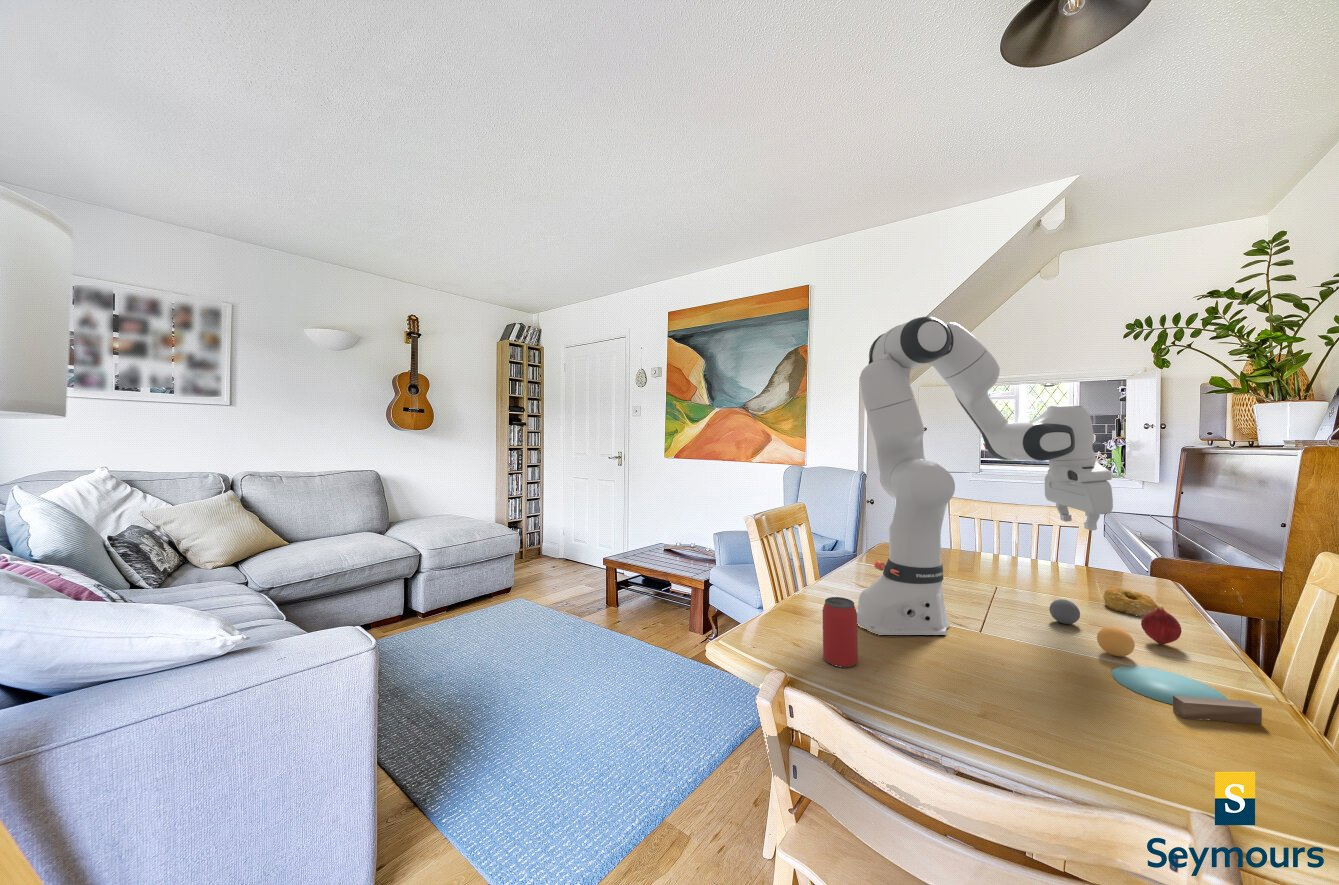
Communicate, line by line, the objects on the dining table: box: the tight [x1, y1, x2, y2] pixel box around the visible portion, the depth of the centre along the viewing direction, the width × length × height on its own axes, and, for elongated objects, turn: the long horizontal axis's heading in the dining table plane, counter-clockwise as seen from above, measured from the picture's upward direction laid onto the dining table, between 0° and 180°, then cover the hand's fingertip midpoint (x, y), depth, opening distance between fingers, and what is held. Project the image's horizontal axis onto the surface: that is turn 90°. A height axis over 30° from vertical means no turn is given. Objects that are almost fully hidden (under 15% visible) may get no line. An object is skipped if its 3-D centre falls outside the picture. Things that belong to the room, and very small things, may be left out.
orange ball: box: [1096, 626, 1136, 657], centre depth 94 cm, size 6×6×6 cm
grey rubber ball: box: [1049, 598, 1081, 625], centre depth 110 cm, size 6×6×6 cm
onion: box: [1140, 605, 1182, 646], centre depth 99 cm, size 6×6×8 cm
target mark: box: [1111, 665, 1228, 706], centre depth 83 cm, size 14×14×1 cm
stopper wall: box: [1172, 696, 1263, 725], centre depth 74 cm, size 2×10×2 cm, turn 79°
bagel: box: [1103, 586, 1159, 617], centre depth 118 cm, size 10×11×5 cm
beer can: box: [822, 596, 859, 668], centre depth 94 cm, size 7×7×12 cm
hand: (1078, 525), depth 116 cm, fingers open, 8 cm apart
